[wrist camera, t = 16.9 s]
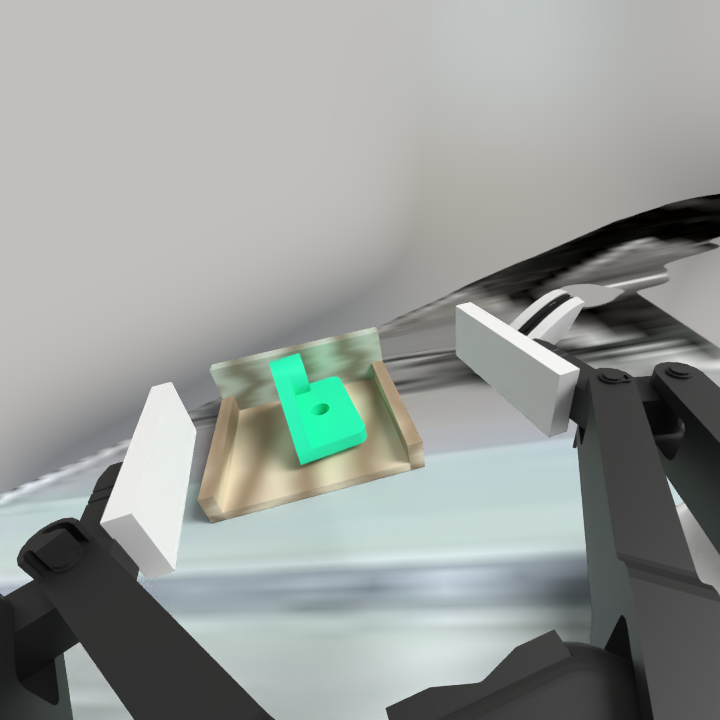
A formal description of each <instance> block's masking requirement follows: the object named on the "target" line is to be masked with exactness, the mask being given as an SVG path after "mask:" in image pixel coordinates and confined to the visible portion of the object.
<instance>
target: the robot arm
mask: <svg viewBox="0 0 720 720" xmlns="http://www.w3.org/2000/svg"><path fill="white" fill-rule="evenodd" d="M456 355H457V356H458V357H459V358H460V359H461V360H462V361H463V362H465V363H466V364H467V365H468V366H469V367H470V368H471V369H472V370H474V371H475V372H476V373H477V374H478V375H479V376H480V377H481V378H483V379H484V380H485V381H486V382H487V383H488V384H489V385H490V386H492V387H493V388H494V389H495V390H496V391H497V392H498V393H499V394H501V395H502V396H503V397H504V398H505V399H506V400H507V401H508V402H510V403H511V404H512V405H513V406H514V407H515V408H516V409H517V410H519V411H520V412H521V413H522V414H523V415H524V416H525V417H526V418H528V419H529V420H530V421H531V422H532V423H533V424H534V425H535V426H537V427H538V428H539V429H540V430H541V431H542V432H543V433H544V434H546V435H547V436H548V437H552V436H555V435H557V434H560V433H563V432H566V431H567V428H568V423H569V418H570V419H571V420H573V421H574V422H575V423H577V424H578V426H577V431H576V435H575V439H574V444H573V448H576V447H577V448H578V460H579V471H580V483H581V494H582V506H583V517H584V529H585V540H586V552H587V563H588V575H589V586H590V598H591V609H592V628H591V637H590V645H589V644H584V643H579V642H562V640H561V639H560V637H559V636H558V634H557V633H556V631H555V630H552V631H550V632H548V633H546V634H544V635H541V636H539V637H537V638H535V639H533V640H531V641H528V642H526V643H524V644H522V645H520V646H518V647H516V648H515V649H514V650H513V651H512V652H511V653H510V654H509V655H508V656H507V657H506V658H505V659H504V660H503V661H502V662H501V663H500V664H499V665H498V666H497V667H496V668H495V669H494V670H493V671H492V672H491V673H490V674H489V675H488V676H487V677H486V678H485V679H484V680H483V681H481V682H479V683H473V684H462V685H451V686H440V687H430V688H428V689H426V690H423V691H421V692H419V693H417V694H415V695H413V696H411V697H408V698H406V699H404V700H402V701H400V702H398V703H396V704H393V705H391V706H389V707H387V708H386V711H387V715H388V719H389V720H720V595H719V593H718V591H717V590H716V589H715V588H714V587H713V586H712V585H709V584H705V583H703V582H702V581H701V580H700V579H699V577H698V574H697V572H696V569H695V566H694V562H693V559H692V556H691V553H690V550H689V547H688V544H687V541H686V538H685V534H684V531H683V528H682V525H681V522H680V519H679V516H678V513H677V510H676V506H675V503H674V500H673V497H672V494H671V491H670V488H669V485H668V481H667V478H668V479H669V481H670V482H671V484H672V485H673V487H674V488H675V490H676V491H677V493H678V494H679V495H680V497H681V498H682V500H683V501H684V503H685V504H686V506H687V507H688V509H689V510H690V512H691V513H692V515H693V516H694V518H695V519H696V521H697V522H698V524H699V525H700V527H701V528H702V530H703V531H704V533H705V534H706V536H707V537H708V539H709V540H710V542H711V543H712V545H713V546H714V548H715V549H716V551H717V552H718V553H719V555H720V388H719V387H718V386H717V385H716V384H715V383H714V382H713V381H712V380H711V379H709V378H708V377H707V376H706V375H705V374H704V373H703V372H701V371H700V370H698V369H697V368H695V367H692V366H689V365H687V364H684V363H683V364H682V363H678V362H665V363H660V364H658V365H656V366H655V368H654V371H653V374H652V376H644V377H632V376H631V375H629V374H628V373H626V372H623V371H621V370H618V369H612V368H599V369H594V368H592V367H591V366H589V365H587V364H586V363H584V362H582V361H580V360H579V359H577V358H575V357H574V356H572V355H570V354H567V352H565V351H563V350H562V349H559V348H558V347H556V346H555V345H553V344H551V343H550V342H547V341H544V340H540V339H537V338H534V339H530V338H528V337H527V336H525V335H523V334H522V333H520V332H518V331H517V330H515V329H513V328H512V327H510V326H509V325H507V324H505V323H504V322H502V321H500V320H499V319H497V318H495V317H494V316H492V315H490V314H489V313H487V312H485V311H484V310H482V309H481V308H479V307H477V306H476V305H474V304H472V303H471V302H469V303H465V304H461V305H458V306H456ZM195 437H196V429H195V427H194V425H193V423H192V421H191V419H190V417H189V415H188V413H187V411H186V410H185V408H184V406H183V404H182V402H181V400H180V398H179V396H178V394H177V392H176V390H175V388H174V386H173V384H172V382H169V383H165V384H161V385H158V386H154V387H152V388H151V391H150V394H149V396H148V399H147V402H146V404H145V407H144V410H143V412H142V415H141V417H140V420H139V422H138V425H137V428H136V430H135V433H134V435H133V438H132V441H131V443H130V446H129V448H128V451H127V454H126V456H125V459H124V461H123V462H120V463H117V464H113V465H110V466H109V467H108V468H107V469H106V471H105V472H104V473H103V474H102V475H101V476H100V477H99V479H98V481H97V483H96V485H95V488H94V490H93V494H91V497H90V499H89V501H88V505H87V506H86V508H85V510H84V513H83V515H82V517H81V519H80V521H79V520H77V519H75V518H63V519H60V520H58V521H55V522H53V523H51V524H49V525H47V526H46V527H44V528H42V529H41V530H39V531H38V532H37V533H36V534H35V535H33V536H32V537H31V538H30V539H29V540H28V541H27V542H26V544H25V545H24V546H23V547H22V549H21V550H20V553H19V555H18V557H17V563H18V566H19V567H20V568H22V569H23V570H24V571H25V572H26V573H27V574H28V575H30V576H31V577H32V578H33V579H34V580H33V581H31V582H29V583H27V584H26V585H24V586H22V587H20V588H19V589H17V590H15V591H13V592H12V593H10V594H8V595H6V596H5V597H4V596H3V595H1V594H0V720H73V716H72V709H71V702H70V695H69V688H68V681H67V674H66V667H65V660H64V652H65V651H67V650H68V649H70V648H71V647H73V646H74V645H76V644H77V643H79V642H80V643H81V644H82V646H83V647H84V649H85V650H86V651H87V653H88V654H89V656H90V657H91V659H92V660H93V661H94V663H95V664H96V666H97V667H98V669H99V670H100V671H101V673H102V674H103V676H104V677H105V679H106V680H107V681H108V683H109V684H110V686H111V687H112V689H113V690H114V691H115V693H116V694H117V696H118V697H119V699H120V700H121V701H122V703H123V704H124V706H125V707H126V709H127V710H128V711H129V713H130V714H131V716H132V717H133V719H134V720H275V719H274V718H273V717H271V716H270V715H269V714H268V713H267V712H266V711H265V710H264V709H263V708H262V707H261V706H260V705H259V704H258V703H257V702H256V701H255V700H254V699H253V698H252V697H251V696H250V695H249V694H248V693H247V692H246V691H245V690H244V689H243V688H242V687H241V686H240V685H239V684H238V683H237V682H236V681H235V680H234V679H233V678H232V677H231V676H230V675H229V674H228V673H227V672H226V671H225V670H224V669H223V668H222V667H221V666H220V665H219V664H218V663H217V662H216V661H215V660H214V659H213V658H212V657H211V656H210V655H209V654H208V653H207V652H206V651H205V650H204V649H203V648H202V647H201V646H200V645H199V644H198V643H197V642H196V641H195V640H194V638H193V637H192V636H191V635H190V634H189V633H188V632H187V631H186V630H185V629H184V628H183V627H182V626H181V625H180V624H179V623H178V622H177V621H176V620H175V619H174V618H173V617H172V616H171V615H170V614H169V613H168V612H167V611H166V610H165V609H164V608H163V607H162V606H161V605H160V604H159V603H158V602H157V601H156V600H155V599H154V598H153V597H152V596H151V595H150V594H149V593H148V592H147V591H146V590H145V589H144V588H143V587H142V586H141V585H140V584H139V583H138V582H137V581H136V580H137V576H138V572H139V570H140V571H141V572H142V574H143V575H144V576H145V577H146V578H147V580H150V579H152V578H155V577H158V576H161V575H164V574H166V573H169V572H172V571H175V566H176V560H177V553H178V547H179V540H180V534H181V527H182V521H183V514H184V508H185V502H186V495H187V489H188V482H189V476H190V469H191V463H192V456H193V450H194V444H195ZM666 476H667V478H666Z"/></svg>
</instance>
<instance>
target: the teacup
mask: <svg viewBox="0 0 720 720" xmlns="http://www.w3.org/2000/svg"><path fill="white" fill-rule="evenodd" d="M676 510H677V513H678V516H679V519H680V522H681V525H682V528H683V531H684V534H685V538H686V541H687V544H688V547H689V550H690V553H691V556H692V559H693V562H694V566H695V569H696V572H697V574H698V577H699V579H700V580H701V581H702V582H703V583H705V584H709V585H712V586H713V587H714V588H715V589H716V590H717V591H718V593H719V595H720V555H719V553H718V552H717V551H716V549H715V548H714V546H713V545H712V543H711V542H710V540H709V539H708V537H707V536H706V534H705V533H704V531H703V530H702V528H701V527H700V525H699V524H698V522H697V521H696V519H695V518H694V516H693V515H692V513H691V512H690V510H689V509H688V507H687V506H686V504H685V503H684V502H683V503H681V504H679V505H678V506H676Z"/></svg>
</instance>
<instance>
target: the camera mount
mask: <svg viewBox="0 0 720 720" xmlns="http://www.w3.org/2000/svg"><path fill="white" fill-rule="evenodd" d="M269 364H270V368H271V372H272V375H273V378H274V382H275V385H276V388H277V391H278V394H279V398H280V401H281V404H282V407H283V410H284V414H285V417H286V420H287V423H288V426H289V429H290V433H291V436H292V439H293V442H294V445H295V449H296V452H297V455H298V458H299V461H300V464H301V465H303V464H306V463H308V462H311V461H314V460H317V459H319V458H322V457H325V456H328V455H330V454H333V453H336V452H339V451H342V450H344V449H347V448H350V447H353V446H355V445H358V444H361V443H363V442H364V441H365V440H366V438H367V434H366V429H365V424H364V422H363V420H362V419H361V417H360V415H359V413H358V411H357V409H356V407H355V406H354V404H353V402H352V400H351V398H350V396H349V395H348V393H347V391H346V389H345V387H344V385H343V384H342V382H341V380H340V378H339V377H329V378H326V379H323V380H320V381H317V382H313V383H310V384H309V382H308V378H307V375H306V372H305V368H304V365H303V362H302V359H301V357H300V354H299V353H297V354H294V355H290V356H287V357H284V358H280V359H277V360H274V361H270V362H269Z"/></svg>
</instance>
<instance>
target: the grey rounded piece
mask: <svg viewBox="0 0 720 720" xmlns="http://www.w3.org/2000/svg"><path fill="white" fill-rule="evenodd" d="M584 303H585V302H584V301H582V300H581V299H580V298H579V297H570V295H569V292H567V291H563V290H560V289H558V290H554V291H552V292H550V293H548V294H546V295H544V296H543V297H541V298H540V299H539V300H537V301H536V302H535V303H533V304H532V305H531V306H530V307H529V308H527V309H526V310H525V311H524V312H523V313H522V314H521V315H519V316H518V317H517V318H516V319H515V320H514V321H513V322H512V323H511V324H510V325H509V326H510V327H512V328H513V329H515V330H517V331H518V332H520V333H522V334H523V335H525V336H527V337H528V338H530V339H534V338H537V339H540V340H544V341H547V342H550V343H551V344H553V345H555V344H556V343H557V342H558V341H559V340H560V339H561V338H563V337H564V336H565V335H566V333H567V332H568V330H569V328H570V327H571V325H572V323H573V322H574V320H575V319H576V317H577V315H578V314H579V312H580V310H581V309H582V307H583V305H584ZM474 373H475V374H477V373H476V372H475V371H474Z"/></svg>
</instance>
